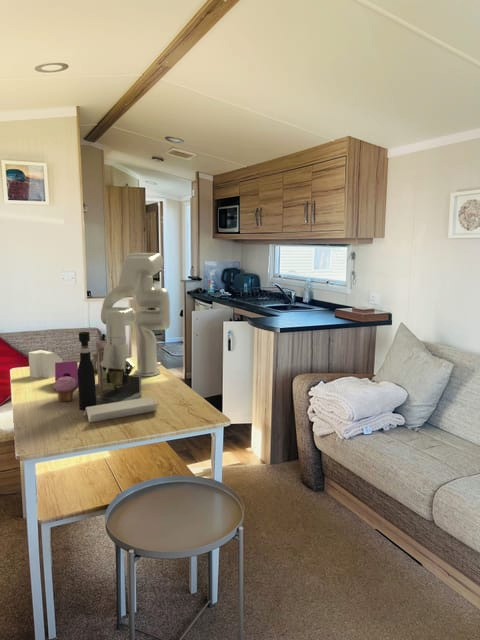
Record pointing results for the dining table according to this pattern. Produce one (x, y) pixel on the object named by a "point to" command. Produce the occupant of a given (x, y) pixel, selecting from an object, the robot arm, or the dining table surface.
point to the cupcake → (65, 388)
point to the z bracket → (120, 409)
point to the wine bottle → (86, 375)
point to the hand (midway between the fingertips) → (117, 383)
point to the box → (101, 373)
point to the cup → (116, 378)
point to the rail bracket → (122, 392)
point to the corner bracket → (43, 363)
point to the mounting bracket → (66, 370)
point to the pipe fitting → (95, 361)
